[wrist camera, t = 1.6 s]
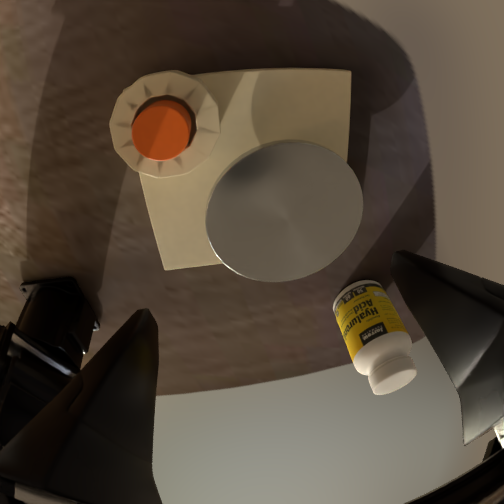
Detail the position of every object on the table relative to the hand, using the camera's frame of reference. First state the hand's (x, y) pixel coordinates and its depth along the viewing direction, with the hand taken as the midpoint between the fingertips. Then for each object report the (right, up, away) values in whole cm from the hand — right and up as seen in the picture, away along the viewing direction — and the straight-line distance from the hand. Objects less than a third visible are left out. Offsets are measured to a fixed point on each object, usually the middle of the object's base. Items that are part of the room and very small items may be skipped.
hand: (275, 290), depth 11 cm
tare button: (-5, +8, +4) cm, 10 cm away
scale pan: (+1, +3, +8) cm, 9 cm away
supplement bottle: (+9, -3, +18) cm, 21 cm away
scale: (-1, +7, +9) cm, 11 cm away
